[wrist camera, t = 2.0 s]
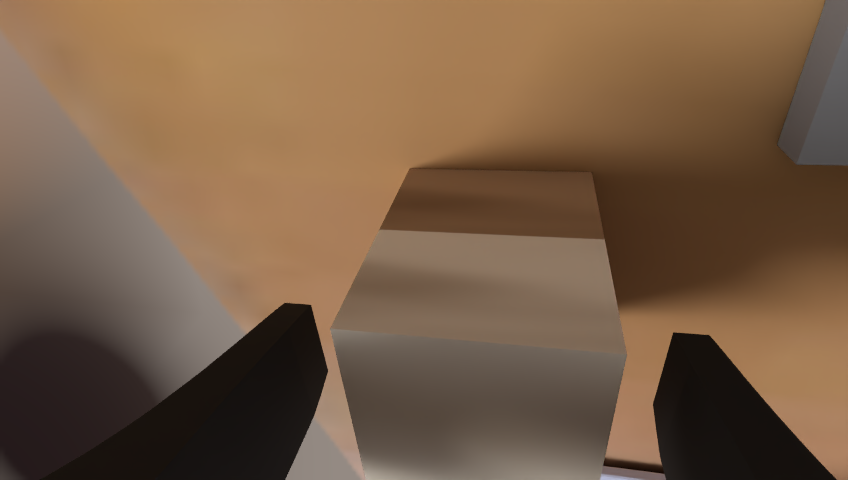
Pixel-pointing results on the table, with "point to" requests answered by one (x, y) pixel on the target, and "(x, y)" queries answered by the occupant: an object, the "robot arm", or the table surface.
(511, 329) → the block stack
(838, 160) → the base plate
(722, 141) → the table surface
